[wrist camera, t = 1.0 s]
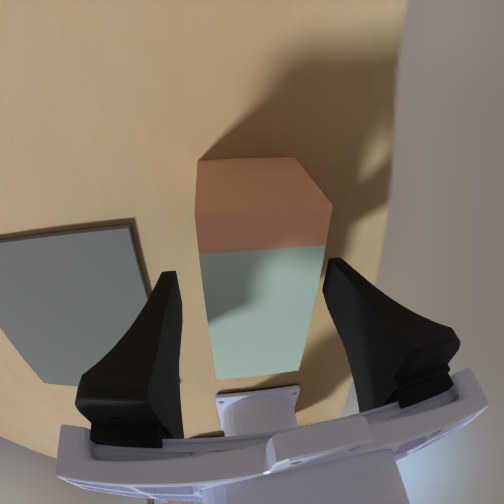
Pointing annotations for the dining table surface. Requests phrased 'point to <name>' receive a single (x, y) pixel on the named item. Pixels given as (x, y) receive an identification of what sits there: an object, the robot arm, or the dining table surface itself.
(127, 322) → the rubber mat
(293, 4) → the dining table surface
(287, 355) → the green and orange block
